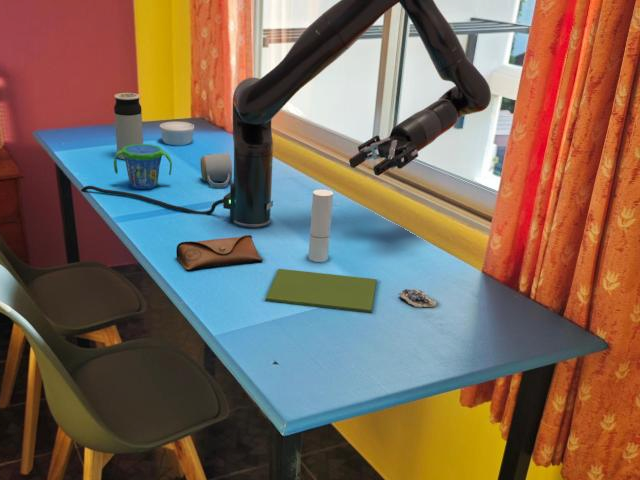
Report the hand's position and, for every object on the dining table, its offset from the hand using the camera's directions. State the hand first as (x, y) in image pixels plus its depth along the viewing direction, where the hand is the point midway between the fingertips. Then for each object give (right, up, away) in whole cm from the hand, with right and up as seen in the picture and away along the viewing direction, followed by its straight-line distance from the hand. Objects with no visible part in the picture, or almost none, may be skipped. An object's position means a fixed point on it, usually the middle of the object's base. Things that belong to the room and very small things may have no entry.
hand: (362, 167), depth 171 cm
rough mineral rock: (+9, -31, -15) cm, 36 cm away
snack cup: (-55, +6, +42) cm, 69 cm away
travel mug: (-62, +21, +65) cm, 92 cm away
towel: (-10, -29, -12) cm, 33 cm away
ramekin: (-49, +31, +81) cm, 100 cm away
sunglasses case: (-32, -21, 0) cm, 38 cm away
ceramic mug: (-34, +9, +46) cm, 58 cm away
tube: (-10, -20, +2) cm, 22 cm away
